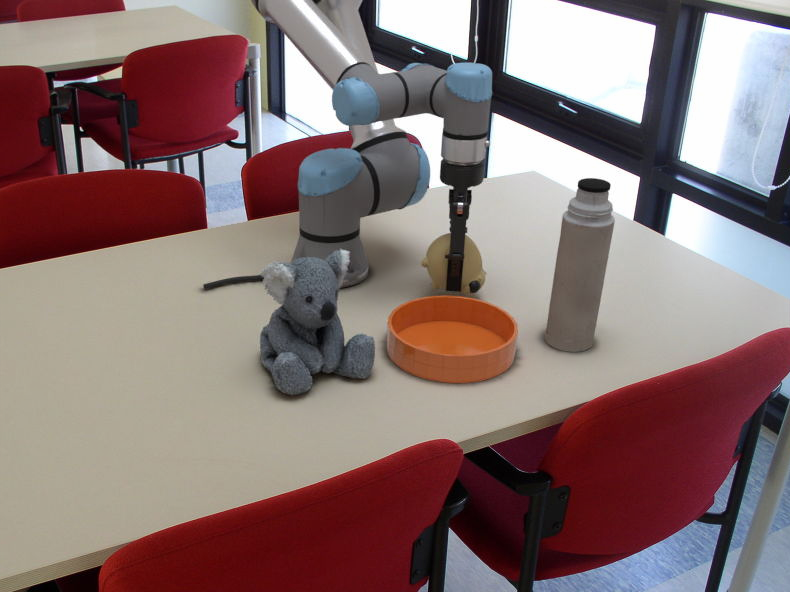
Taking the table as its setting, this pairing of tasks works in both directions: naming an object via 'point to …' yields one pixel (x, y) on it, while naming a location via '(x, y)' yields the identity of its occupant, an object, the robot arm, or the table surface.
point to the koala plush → (310, 324)
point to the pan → (451, 339)
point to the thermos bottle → (580, 267)
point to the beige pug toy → (438, 265)
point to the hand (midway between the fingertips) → (453, 278)
